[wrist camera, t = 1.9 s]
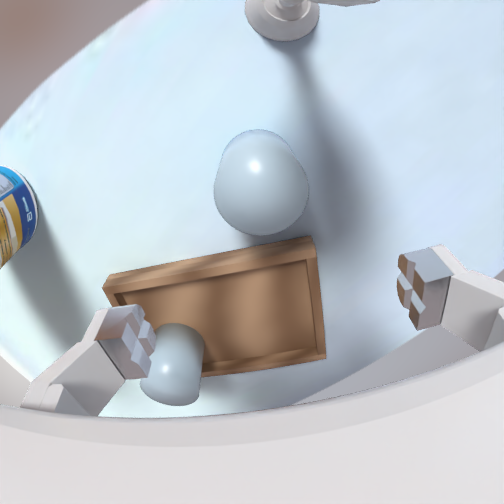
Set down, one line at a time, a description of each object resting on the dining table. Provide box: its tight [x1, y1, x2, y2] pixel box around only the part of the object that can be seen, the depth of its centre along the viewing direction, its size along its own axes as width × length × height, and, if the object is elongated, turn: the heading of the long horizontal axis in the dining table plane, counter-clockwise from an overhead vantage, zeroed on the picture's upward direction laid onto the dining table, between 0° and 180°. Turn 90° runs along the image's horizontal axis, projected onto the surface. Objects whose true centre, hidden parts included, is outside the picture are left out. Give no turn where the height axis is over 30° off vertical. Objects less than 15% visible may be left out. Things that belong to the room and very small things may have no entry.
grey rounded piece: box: [214, 129, 309, 235], centre depth 20 cm, size 5×5×6 cm
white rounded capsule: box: [140, 323, 205, 406], centre depth 27 cm, size 5×5×6 cm
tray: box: [102, 236, 326, 377], centre depth 28 cm, size 18×13×2 cm
